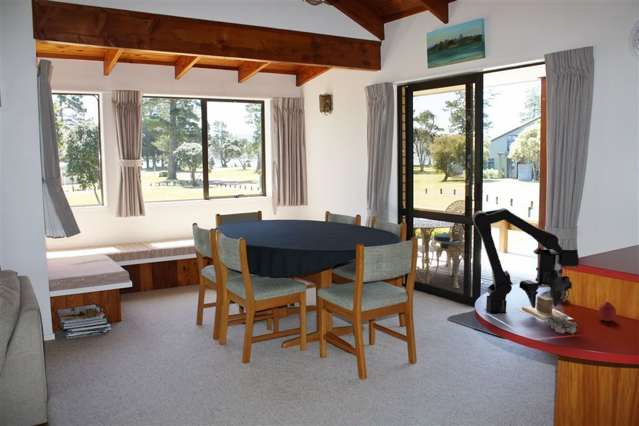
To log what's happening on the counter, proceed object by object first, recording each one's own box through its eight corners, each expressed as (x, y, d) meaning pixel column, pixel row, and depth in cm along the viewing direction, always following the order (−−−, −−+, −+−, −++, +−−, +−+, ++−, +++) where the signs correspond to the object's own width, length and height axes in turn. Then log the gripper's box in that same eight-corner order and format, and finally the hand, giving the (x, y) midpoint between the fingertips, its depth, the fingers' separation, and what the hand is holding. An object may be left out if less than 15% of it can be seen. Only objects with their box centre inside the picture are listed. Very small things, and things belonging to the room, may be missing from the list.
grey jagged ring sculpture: (578, 336, 185) (579, 324, 184) (555, 335, 185) (556, 324, 185) (566, 325, 195) (566, 314, 195) (544, 324, 196) (545, 313, 195)
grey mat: (542, 323, 197) (542, 321, 197) (516, 309, 212) (516, 308, 212) (573, 320, 200) (573, 319, 200) (545, 307, 215) (545, 306, 215)
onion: (614, 320, 200) (615, 299, 199) (616, 325, 195) (618, 303, 194) (596, 318, 202) (597, 297, 201) (598, 323, 197) (600, 301, 196)
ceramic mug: (566, 297, 229) (567, 279, 229) (569, 302, 222) (570, 284, 221) (539, 295, 233) (540, 277, 232) (540, 300, 225) (541, 282, 224)
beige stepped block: (543, 320, 198) (544, 303, 198) (521, 309, 211) (522, 294, 210) (567, 318, 201) (568, 302, 200) (544, 307, 213) (545, 292, 213)
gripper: (538, 272, 194) (535, 315, 196) (583, 269, 198) (580, 311, 200) (519, 265, 204) (517, 306, 206) (563, 263, 209) (560, 303, 211)
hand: (544, 307), depth 206 cm, fingers open, 9 cm apart
